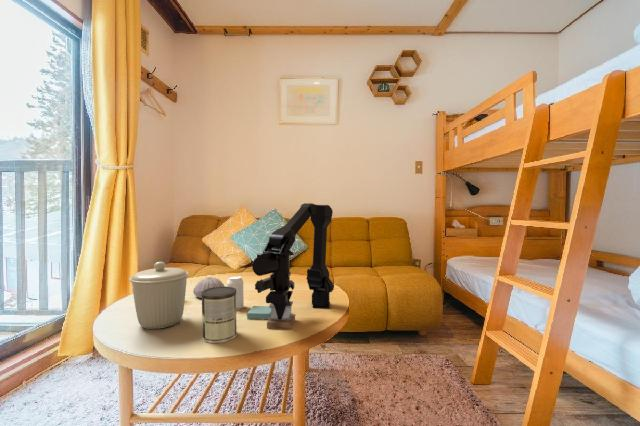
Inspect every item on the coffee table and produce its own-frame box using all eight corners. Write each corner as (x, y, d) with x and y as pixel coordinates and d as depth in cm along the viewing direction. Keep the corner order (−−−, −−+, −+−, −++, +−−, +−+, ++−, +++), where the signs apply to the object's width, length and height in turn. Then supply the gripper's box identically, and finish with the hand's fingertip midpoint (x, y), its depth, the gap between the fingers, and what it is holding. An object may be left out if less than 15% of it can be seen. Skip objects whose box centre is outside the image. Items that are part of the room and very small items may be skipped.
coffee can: (195, 337, 100) (194, 291, 100) (224, 327, 108) (223, 284, 108) (214, 346, 94) (213, 297, 93) (244, 335, 102) (243, 290, 101)
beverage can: (224, 308, 127) (223, 277, 127) (238, 304, 132) (237, 274, 131) (232, 312, 123) (231, 280, 122) (246, 308, 127) (246, 277, 127)
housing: (293, 315, 113) (292, 301, 113) (290, 321, 108) (290, 306, 108) (272, 315, 113) (272, 300, 113) (269, 320, 108) (269, 305, 108)
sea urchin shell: (199, 302, 135) (199, 283, 135) (189, 295, 145) (188, 277, 145) (230, 296, 143) (230, 278, 143) (218, 290, 154) (218, 272, 154)
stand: (274, 311, 123) (274, 306, 123) (269, 319, 115) (269, 313, 115) (253, 311, 124) (253, 305, 123) (247, 318, 116) (247, 313, 116)
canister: (122, 324, 111) (120, 262, 110) (175, 310, 125) (174, 255, 124) (143, 339, 99) (141, 269, 98) (199, 322, 113) (198, 261, 112)
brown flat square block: (295, 319, 114) (295, 314, 114) (291, 328, 106) (291, 322, 106) (272, 319, 115) (272, 313, 115) (267, 328, 107) (266, 322, 107)
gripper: (264, 264, 120) (264, 306, 120) (249, 276, 101) (249, 326, 102) (294, 264, 119) (294, 307, 120) (285, 276, 100) (285, 327, 101)
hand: (281, 316), depth 110 cm, fingers closed on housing, 5 cm apart
